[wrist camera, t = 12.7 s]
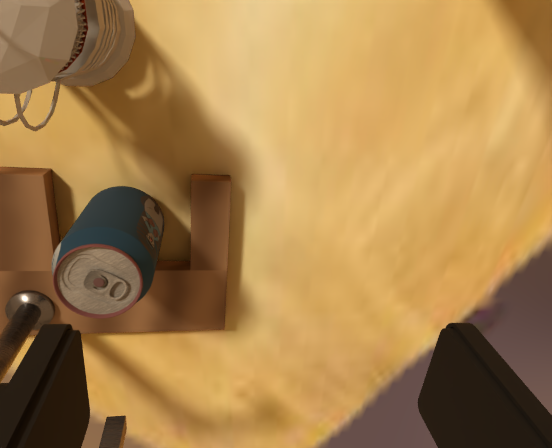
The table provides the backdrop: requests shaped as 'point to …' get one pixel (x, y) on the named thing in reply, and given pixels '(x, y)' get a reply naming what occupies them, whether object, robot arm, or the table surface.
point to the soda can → (109, 253)
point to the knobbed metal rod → (22, 320)
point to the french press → (61, 45)
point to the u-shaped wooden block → (168, 274)
